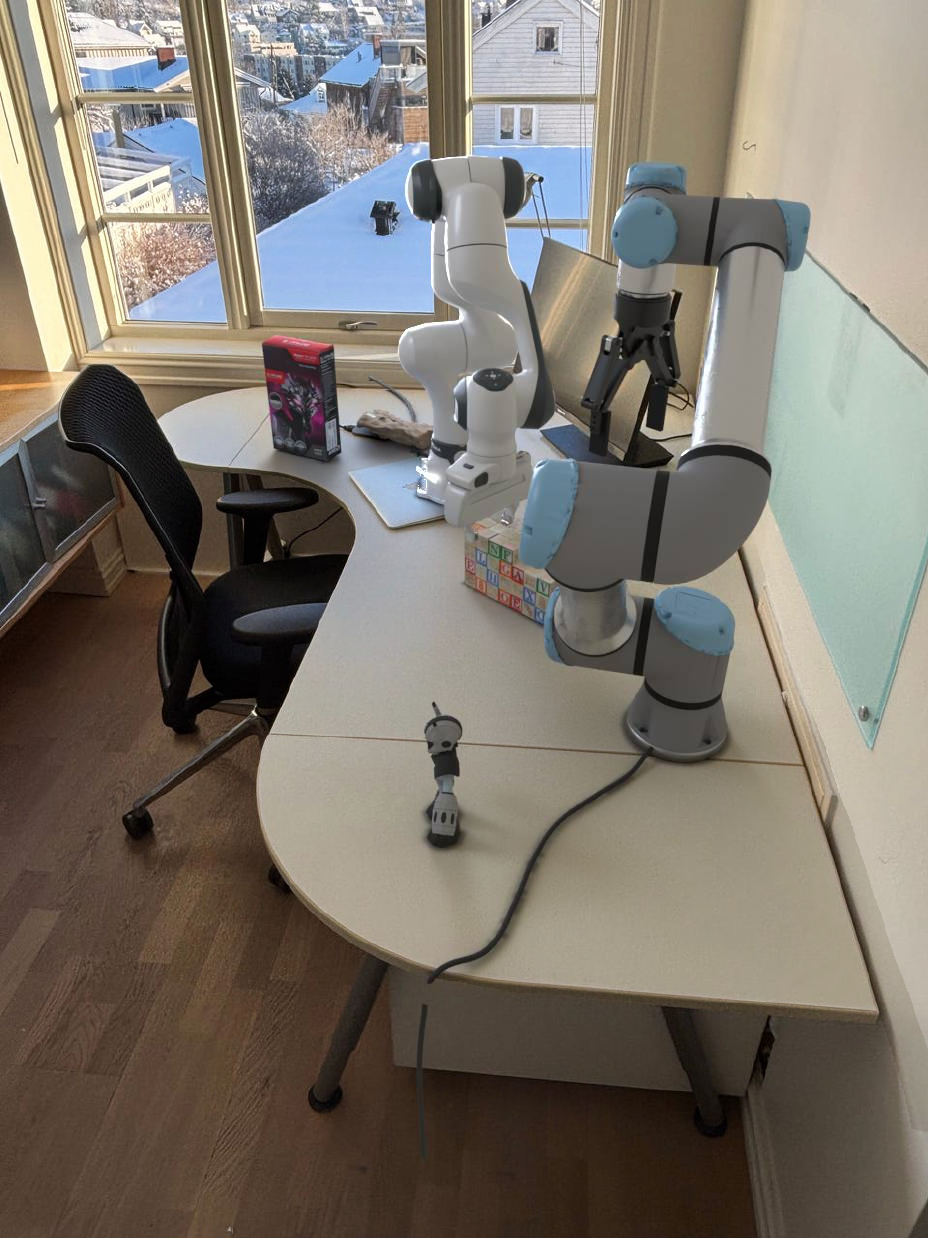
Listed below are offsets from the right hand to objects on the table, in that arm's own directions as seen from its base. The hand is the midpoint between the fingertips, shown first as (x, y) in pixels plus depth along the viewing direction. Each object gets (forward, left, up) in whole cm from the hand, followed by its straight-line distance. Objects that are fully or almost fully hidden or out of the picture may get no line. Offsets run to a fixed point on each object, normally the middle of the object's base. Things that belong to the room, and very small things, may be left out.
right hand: (626, 440), depth 135 cm
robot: (-43, +16, -41) cm, 61 cm away
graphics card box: (+68, +84, -41) cm, 115 cm away
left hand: (+19, +25, -29) cm, 43 cm away
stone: (+82, +66, -41) cm, 113 cm away
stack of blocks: (+16, +19, -41) cm, 48 cm away
